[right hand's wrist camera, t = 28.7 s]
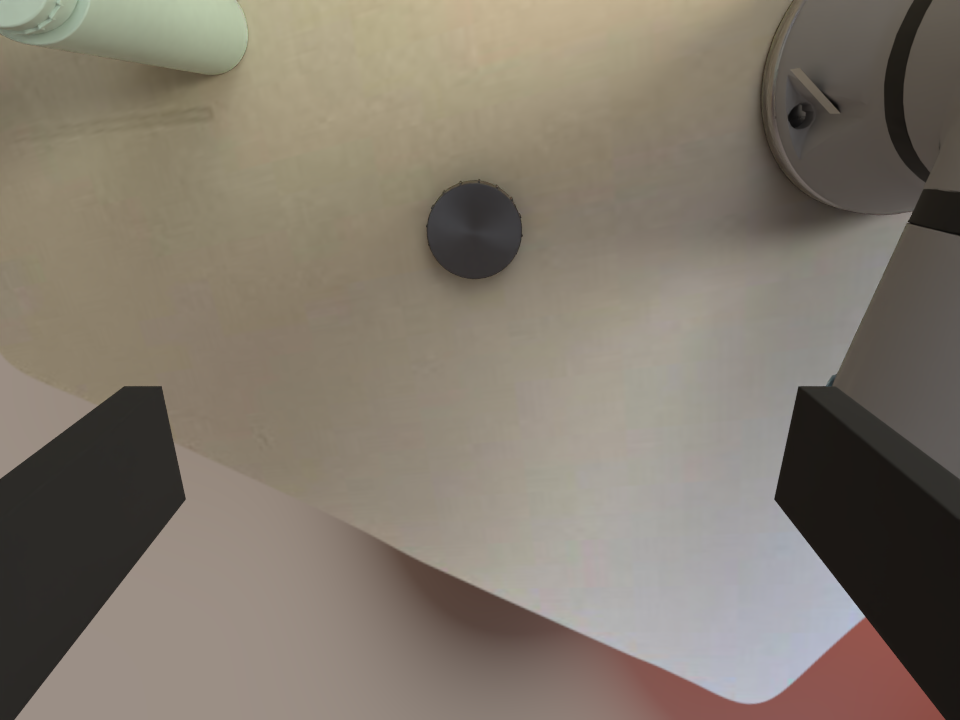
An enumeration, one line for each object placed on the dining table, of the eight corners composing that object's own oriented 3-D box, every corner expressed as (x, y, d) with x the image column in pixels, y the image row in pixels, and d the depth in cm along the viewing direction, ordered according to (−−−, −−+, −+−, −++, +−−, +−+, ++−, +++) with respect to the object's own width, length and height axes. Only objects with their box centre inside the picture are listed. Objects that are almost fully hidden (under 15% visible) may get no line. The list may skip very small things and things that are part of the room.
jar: (243, 85, 35) (61, 58, 20) (159, 61, 35) (-92, 15, 19) (253, -7, 33) (63, -113, 18) (165, -33, 33) (-104, -165, 18)
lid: (423, 184, 37) (420, 187, 35) (517, 175, 37) (518, 177, 35) (434, 276, 39) (432, 283, 38) (523, 268, 39) (525, 274, 37)
